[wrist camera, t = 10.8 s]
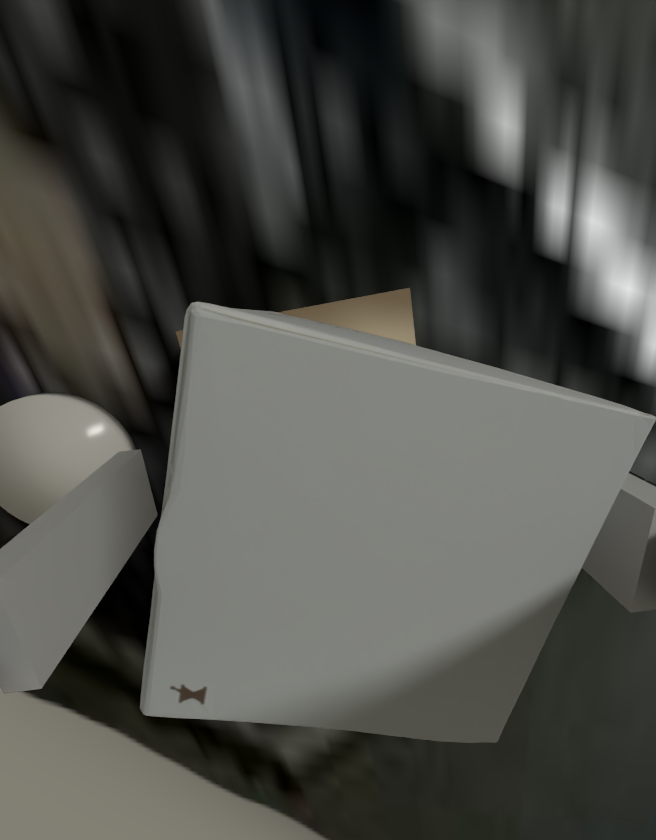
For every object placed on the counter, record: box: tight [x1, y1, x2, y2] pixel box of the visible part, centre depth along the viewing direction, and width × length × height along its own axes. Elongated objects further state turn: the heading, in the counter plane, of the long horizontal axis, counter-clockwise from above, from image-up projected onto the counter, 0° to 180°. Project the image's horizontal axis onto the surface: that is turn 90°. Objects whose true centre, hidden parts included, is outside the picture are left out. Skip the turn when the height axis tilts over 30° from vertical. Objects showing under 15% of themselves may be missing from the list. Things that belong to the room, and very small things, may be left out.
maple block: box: [176, 288, 416, 348], centre depth 24 cm, size 13×13×5 cm
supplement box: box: [140, 302, 656, 743], centre depth 14 cm, size 9×9×15 cm
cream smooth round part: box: [0, 392, 136, 524], centre depth 25 cm, size 10×10×1 cm
